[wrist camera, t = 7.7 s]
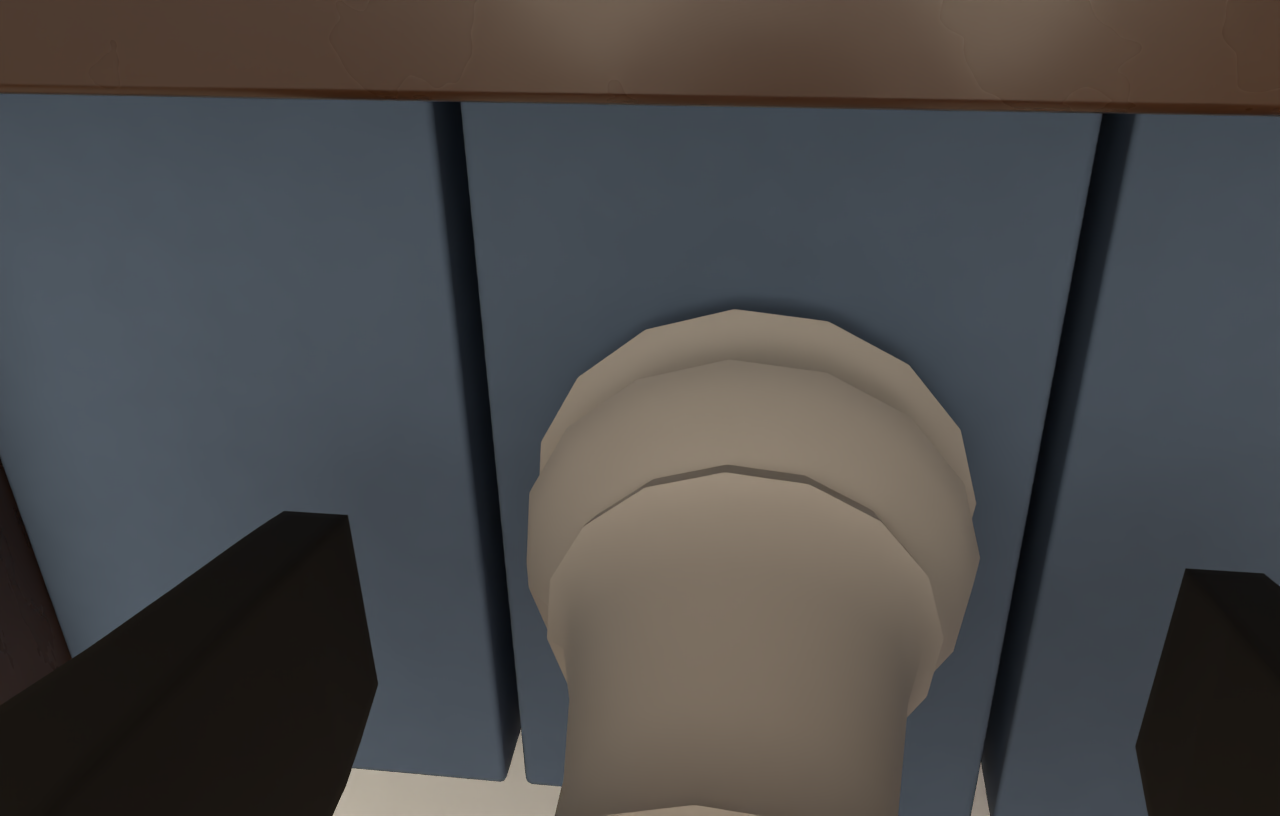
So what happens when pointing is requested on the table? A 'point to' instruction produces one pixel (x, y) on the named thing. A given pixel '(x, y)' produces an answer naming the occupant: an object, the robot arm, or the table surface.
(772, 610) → the rook chess piece
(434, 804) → the table surface
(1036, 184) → the wooden desk tray
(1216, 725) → the robot arm
